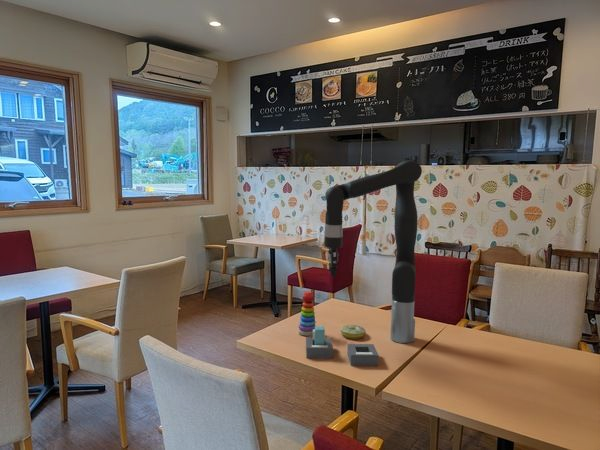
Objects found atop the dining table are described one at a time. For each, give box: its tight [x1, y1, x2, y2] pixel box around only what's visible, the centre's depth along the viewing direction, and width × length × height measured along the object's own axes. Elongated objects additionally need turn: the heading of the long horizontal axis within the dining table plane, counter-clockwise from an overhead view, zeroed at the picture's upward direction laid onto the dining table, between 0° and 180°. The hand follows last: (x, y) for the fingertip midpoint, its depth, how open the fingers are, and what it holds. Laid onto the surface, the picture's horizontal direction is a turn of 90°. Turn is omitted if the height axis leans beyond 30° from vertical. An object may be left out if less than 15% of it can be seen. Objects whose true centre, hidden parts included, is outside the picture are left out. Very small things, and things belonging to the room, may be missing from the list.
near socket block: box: [346, 343, 380, 367], centre depth 153 cm, size 10×10×4 cm
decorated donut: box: [340, 324, 367, 340], centre depth 177 cm, size 10×11×4 cm
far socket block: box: [305, 337, 334, 359], centre depth 159 cm, size 10×10×4 cm
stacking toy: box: [297, 290, 317, 337], centre depth 178 cm, size 8×8×19 cm
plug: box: [312, 325, 326, 345], centre depth 158 cm, size 4×4×10 cm
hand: (332, 273), depth 170 cm, fingers open, 8 cm apart
